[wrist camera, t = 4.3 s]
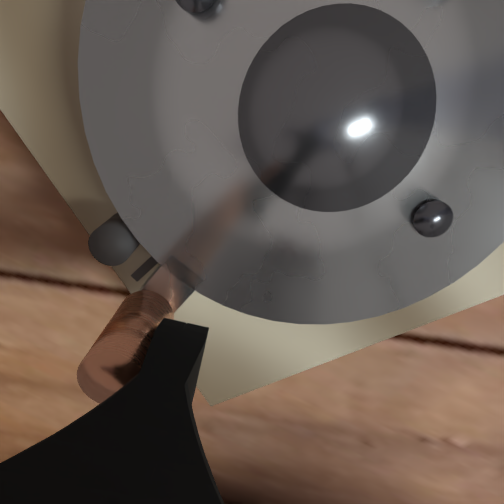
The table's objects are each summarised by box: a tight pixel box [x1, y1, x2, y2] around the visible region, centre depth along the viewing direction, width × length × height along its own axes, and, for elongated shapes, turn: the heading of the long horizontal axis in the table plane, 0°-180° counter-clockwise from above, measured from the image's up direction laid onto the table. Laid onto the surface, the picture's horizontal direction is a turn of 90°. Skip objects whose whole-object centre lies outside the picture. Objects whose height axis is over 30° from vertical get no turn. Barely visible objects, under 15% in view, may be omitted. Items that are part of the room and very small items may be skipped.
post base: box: [0, 0, 504, 406], centre depth 11 cm, size 16×16×3 cm
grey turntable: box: [77, 0, 504, 404], centre depth 9 cm, size 14×12×4 cm
